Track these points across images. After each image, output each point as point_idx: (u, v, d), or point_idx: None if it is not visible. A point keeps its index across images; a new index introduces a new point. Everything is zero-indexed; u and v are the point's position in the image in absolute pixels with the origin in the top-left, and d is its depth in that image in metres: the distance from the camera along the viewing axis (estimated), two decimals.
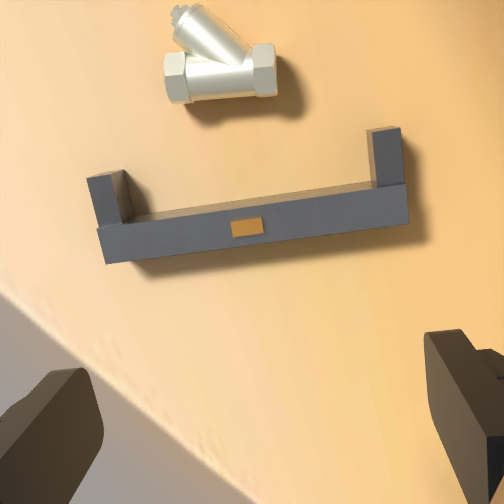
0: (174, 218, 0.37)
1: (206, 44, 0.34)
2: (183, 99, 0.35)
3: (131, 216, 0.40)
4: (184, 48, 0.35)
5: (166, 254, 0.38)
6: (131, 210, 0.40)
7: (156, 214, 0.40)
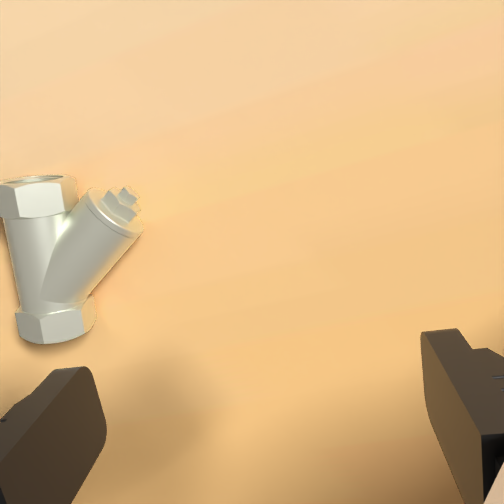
0: None
1: (70, 252, 0.23)
2: None
3: None
4: (73, 209, 0.23)
5: None
6: None
7: None
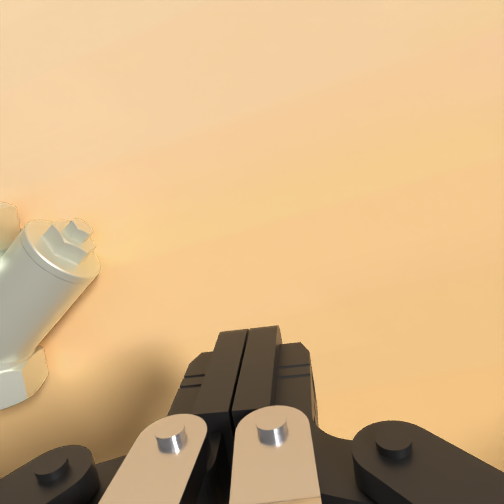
0: None
1: (1, 302, 0.18)
2: None
3: None
4: (9, 247, 0.18)
5: None
6: None
7: None
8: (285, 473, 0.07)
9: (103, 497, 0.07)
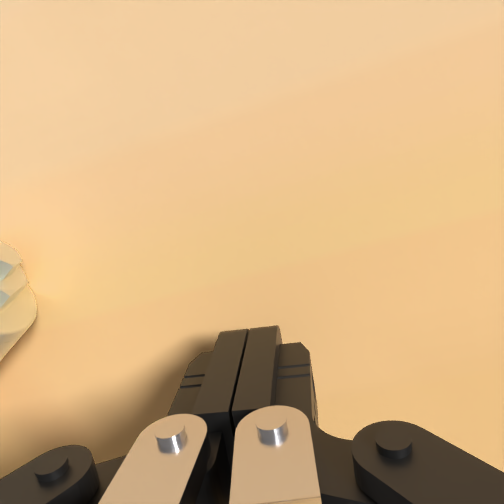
0: None
1: None
2: None
3: None
4: None
5: None
6: None
7: None
8: (284, 473, 0.07)
9: (103, 497, 0.07)
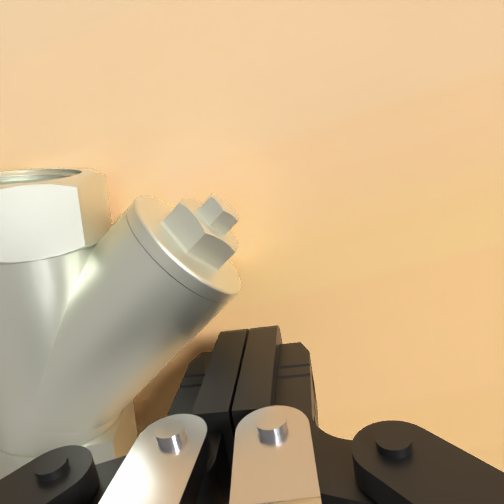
0: None
1: (95, 335, 0.10)
2: None
3: None
4: (104, 240, 0.11)
5: None
6: None
7: None
8: (285, 473, 0.07)
9: (103, 497, 0.07)
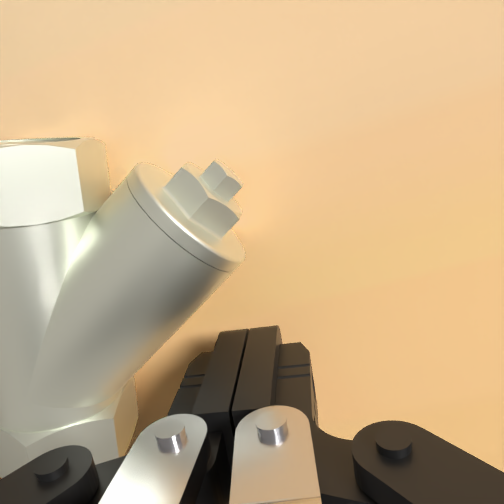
0: None
1: (95, 303, 0.10)
2: None
3: None
4: (103, 207, 0.10)
5: None
6: None
7: None
8: (285, 473, 0.07)
9: (103, 497, 0.07)
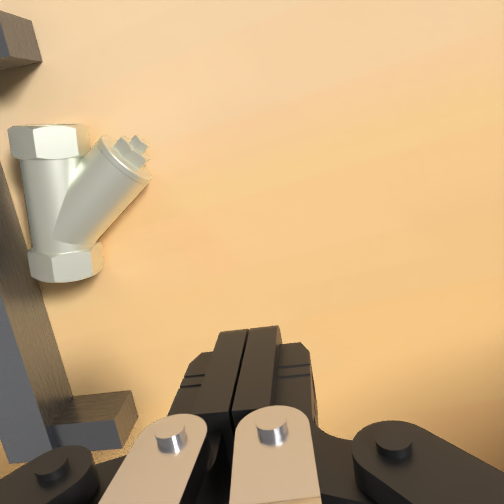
0: None
1: (82, 193, 0.24)
2: (12, 149, 0.24)
3: None
4: (87, 154, 0.24)
5: None
6: None
7: None
8: (285, 473, 0.07)
9: (103, 497, 0.07)
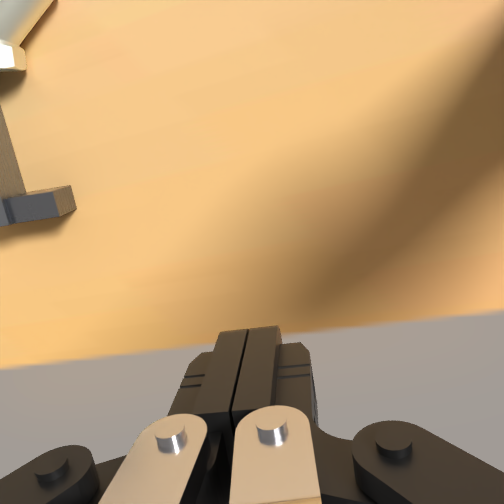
0: None
1: None
2: None
3: None
4: None
5: None
6: None
7: None
8: (285, 473, 0.07)
9: (103, 497, 0.07)
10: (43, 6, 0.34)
